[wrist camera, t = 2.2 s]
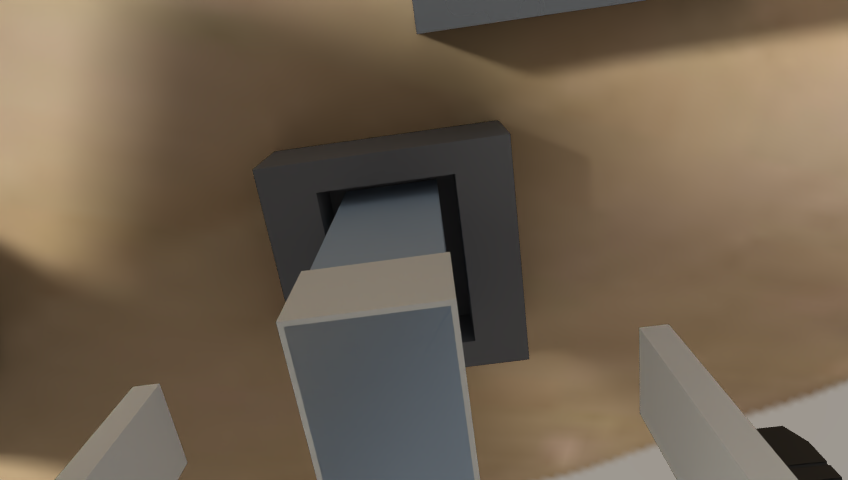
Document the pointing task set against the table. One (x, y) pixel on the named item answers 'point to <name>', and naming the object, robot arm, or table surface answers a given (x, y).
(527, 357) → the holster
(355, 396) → the plug
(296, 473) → the table surface
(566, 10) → the port panel
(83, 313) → the table surface
